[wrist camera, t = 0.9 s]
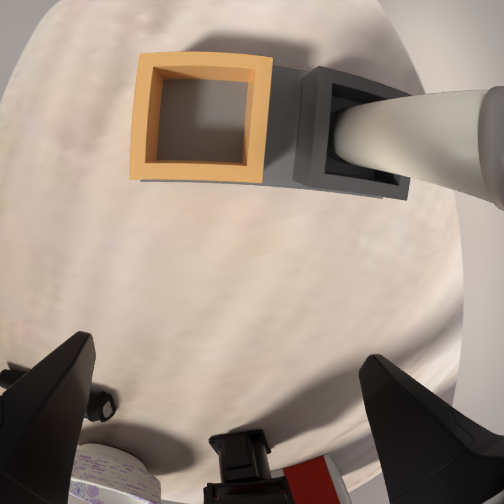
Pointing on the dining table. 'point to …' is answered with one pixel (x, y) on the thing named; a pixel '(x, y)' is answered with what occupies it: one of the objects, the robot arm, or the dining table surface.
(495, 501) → the robot arm
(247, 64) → the two-tone square organizer tray
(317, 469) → the arched-top grey box
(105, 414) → the electric trimmer
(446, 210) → the dining table surface
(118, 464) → the paper bowls
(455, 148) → the plug
